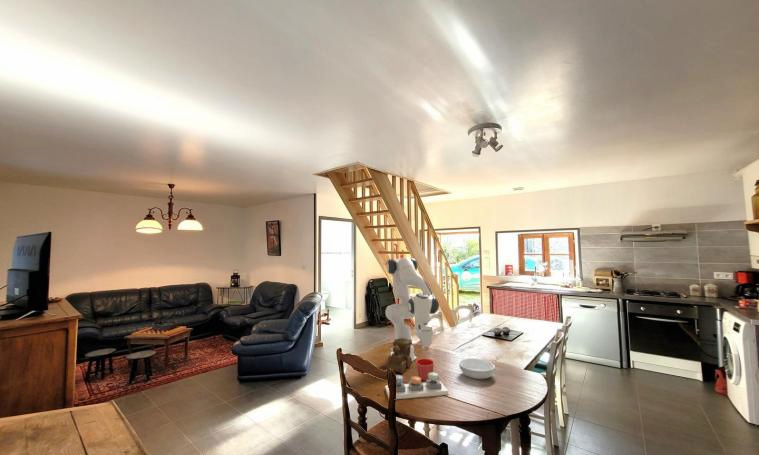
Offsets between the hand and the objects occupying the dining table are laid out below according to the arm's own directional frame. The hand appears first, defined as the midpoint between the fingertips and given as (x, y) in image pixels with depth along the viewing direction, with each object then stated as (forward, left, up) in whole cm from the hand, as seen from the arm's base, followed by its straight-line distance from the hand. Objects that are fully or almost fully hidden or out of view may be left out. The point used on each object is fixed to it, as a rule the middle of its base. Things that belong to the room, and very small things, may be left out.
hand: (422, 348), depth 171 cm
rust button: (+3, -5, -19) cm, 20 cm away
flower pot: (-13, +5, -22) cm, 26 cm away
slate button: (+3, -15, -18) cm, 24 cm away
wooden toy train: (-30, -7, -22) cm, 38 cm away
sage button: (+3, +5, -18) cm, 19 cm away
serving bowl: (-11, +37, -22) cm, 44 cm away
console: (+3, -5, -22) cm, 23 cm away
